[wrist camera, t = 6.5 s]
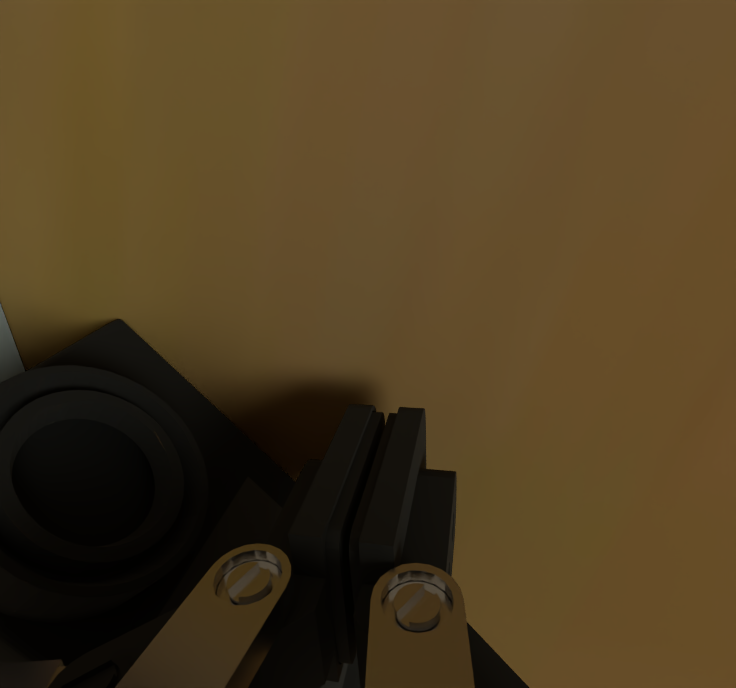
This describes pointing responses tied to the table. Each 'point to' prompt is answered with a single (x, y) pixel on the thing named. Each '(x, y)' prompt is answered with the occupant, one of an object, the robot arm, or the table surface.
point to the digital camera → (118, 496)
